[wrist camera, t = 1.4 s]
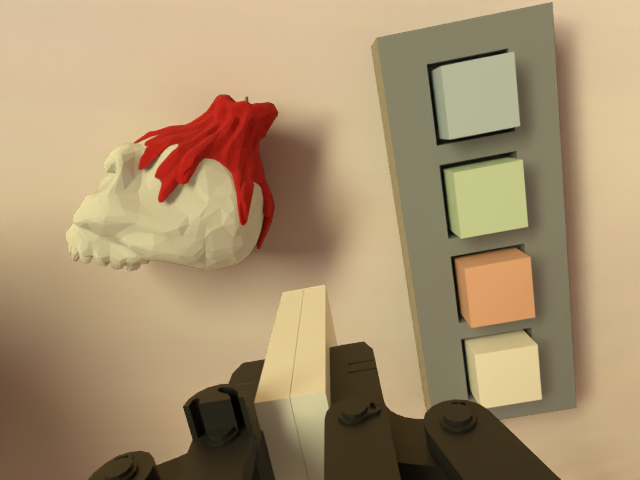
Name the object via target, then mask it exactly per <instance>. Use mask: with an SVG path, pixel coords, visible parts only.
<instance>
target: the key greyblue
mask: <svg viewBox="0 0 640 480" xmlns="http://www.w3.org/2000/svg"><path fill="white" fill-rule="evenodd" d="M431 77H432V85H433V93H434V101H435V109H436V117H437V126H438V134H439V139H448V140H450V139H455V138H461V137H466V136H471V135H476V134H482V133H487V132H492V131H497V130H502V129H508V128H513V127H518V126H520V118H519V105H518V93H517V80H516V68H515V55H514V52H509V53H504V54H499V55H494V56H489V57H484V58H479V59H474V60H469V61H464V62H459V63H454V64H449V65H444V66H440V67H438V68H436V69H434V70H432V71H431Z"/></svg>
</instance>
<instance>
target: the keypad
mask: <svg viewBox="0 0 640 480" xmlns="http://www.w3.org/2000/svg"><path fill="white" fill-rule="evenodd" d="M371 48H372V55H373V61H374V68H375V75H376V81H377V88H378V94H379V101H380V108H381V114H382V121H383V128H384V134H385V141H386V148H387V154H388V161H389V168H390V174H391V181H392V187H393V194H394V201H395V207H396V214H397V221H398V227H399V234H400V241H401V247H402V254H403V260H404V267H405V274H406V280H407V287H408V294H409V300H410V307H411V314H412V320H413V327H414V333H415V340H416V347H417V353H418V360H419V367H420V373H421V380H422V387H423V393H424V400H425V406H426V409H427V411H428V410H429V409H430V408H431V407H432V406H434V405H436V404H438V403H440V402H442V401H448V400H453V399H457V400H469V401H472V402H475V403H477V401H476V399H475V398H474V396H473V394H472V392H471V390H470V387H469V379H468V371H467V362H466V354H465V346H464V339H466V338H472V337H478V336H484V335H490V334H496V333H502V332H508V331H514V330H519V329H523V330H524V331H525V332H526V333H527V335H528V336H529V337H530V338H531V339H532V340H533V341H534V342H535V343H536V344H537V345H538V357H539V369H540V382H541V394H542V399H541V400H535V401H529V402H523V403H516V404H510V405H504V406H498V407H491V408H486V409H488V410H489V411H490V412H491V413H492V414H493V415H494V416H495V417H496V418H497V419H499V420H501V419H508V418H514V417H520V416H527V415H533V414H539V413H545V412H552V411H558V410H564V409H571V408H576V394H575V377H574V360H573V343H572V326H571V309H570V292H569V275H568V258H567V241H566V224H565V207H564V190H563V174H562V157H561V140H560V123H559V106H558V89H557V72H556V55H555V38H554V21H553V4H552V2H551V3H546V4H541V5H536V6H531V7H526V8H521V9H516V10H511V11H506V12H501V13H497V14H492V15H487V16H482V17H477V18H472V19H467V20H462V21H457V22H452V23H447V24H442V25H438V26H433V27H428V28H423V29H418V30H413V31H408V32H403V33H398V34H393V35H388V36H384V37H379V38H376V40H375V41H374V43H373V45H372V46H371ZM509 52H514V55H515V68H516V80H517V93H518V105H519V118H520V126H518V127H513V128H508V129H502V130H497V131H492V132H487V133H482V134H476V135H471V136H466V137H461V138H455V139H450V140H448V139H439V134H438V126H437V117H436V109H435V101H434V93H433V85H432V77H431V71H432V70H434V69H436V68H438V67H440V66H444V65H449V64H454V63H459V62H464V61H469V60H474V59H479V58H484V57H489V56H494V55H499V54H504V53H509ZM504 157H509V158H515V159H521V160H523V168H524V181H525V193H526V206H527V218H528V227H524V228H518V229H513V230H507V231H502V232H496V233H490V234H485V235H479V236H474V237H468V238H463V239H461V238H460V237H458V236H457V235H456V234H455V233H453V232H452V231H451V230H450V224H449V215H448V207H447V199H446V191H445V183H444V175H443V169H446V168H451V167H456V166H462V165H467V164H472V163H478V162H483V161H488V160H494V159H499V158H504ZM511 247H515V248H517V249H519V250H520V251H522V252H523V253H525V254H527V255H528V256H530V257H531V269H532V281H533V294H534V306H535V317H534V318H529V319H523V320H517V321H511V322H505V323H499V324H493V325H487V326H481V327H475V328H471V327H470V325H469V324H468V323H467V321H466V320H465V319H464V317H463V316H462V315H461V313H460V305H459V297H458V289H457V281H456V273H455V264H454V258H455V257H461V256H466V255H472V254H478V253H483V252H489V251H494V250H500V249H506V248H511Z"/></svg>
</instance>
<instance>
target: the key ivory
mask: <svg viewBox="0 0 640 480" xmlns="http://www.w3.org/2000/svg"><path fill="white" fill-rule="evenodd" d="M464 346H465V354H466V362H467V371H468V379H469V387H470V390H471V392H472V394H473V396H474V398H475V399H476V401H477V403H479V404H480V405H482V406H483V407H485V408H491V407H498V406H504V405H510V404H516V403H523V402H529V401H535V400H541V399H542V394H541V382H540V369H539V357H538V345H537V344H536V343H535V342H534V341H533V340H532V339H531V338H530V337H529V336H528V335H527V333H526V332H525V331H524V330H523V329H519V330H514V331H508V332H502V333H496V334H490V335H484V336H478V337H472V338H466V339H464Z"/></svg>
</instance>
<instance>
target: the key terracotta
mask: <svg viewBox="0 0 640 480" xmlns="http://www.w3.org/2000/svg"><path fill="white" fill-rule="evenodd" d="M454 264H455V273H456V281H457V289H458V297H459V305H460V313H461V315H462V316H463V317H464V319H465V320H466V321H467V323H468V324H469V325H470V327H471V328H475V327H481V326H487V325H493V324H499V323H505V322H511V321H517V320H523V319H529V318H534V317H535V306H534V294H533V281H532V269H531V257H530V256H528V255H527V254H525V253H523V252H522V251H520V250H519V249H517V248H515V247H511V248H506V249H500V250H494V251H489V252H483V253H478V254H472V255H466V256H461V257H455V258H454Z"/></svg>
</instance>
